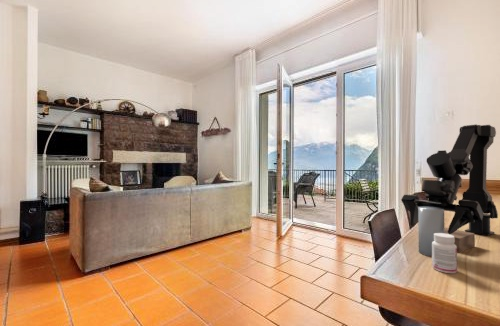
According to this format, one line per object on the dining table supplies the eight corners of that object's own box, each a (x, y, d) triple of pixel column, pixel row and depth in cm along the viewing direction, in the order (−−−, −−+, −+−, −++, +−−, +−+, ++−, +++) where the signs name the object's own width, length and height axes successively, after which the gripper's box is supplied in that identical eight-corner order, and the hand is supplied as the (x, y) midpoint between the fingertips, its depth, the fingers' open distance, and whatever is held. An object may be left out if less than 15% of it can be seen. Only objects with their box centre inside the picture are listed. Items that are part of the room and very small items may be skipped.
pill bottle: (462, 274, 56) (461, 238, 56) (438, 273, 57) (438, 237, 57) (449, 266, 61) (449, 232, 61) (428, 264, 62) (427, 231, 62)
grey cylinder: (425, 248, 73) (424, 205, 74) (449, 255, 68) (448, 208, 68) (414, 252, 71) (413, 207, 71) (438, 259, 65) (437, 211, 65)
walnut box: (437, 237, 84) (437, 226, 84) (474, 246, 75) (474, 233, 75) (421, 242, 79) (421, 230, 79) (459, 252, 70) (459, 238, 70)
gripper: (403, 170, 80) (385, 206, 74) (478, 170, 64) (462, 217, 58) (415, 192, 84) (399, 228, 78) (489, 198, 68) (475, 244, 62)
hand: (429, 229), depth 69 cm, fingers open, 9 cm apart
